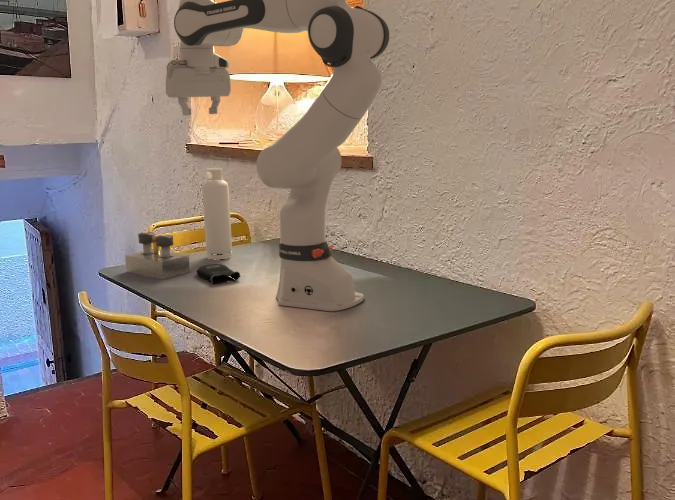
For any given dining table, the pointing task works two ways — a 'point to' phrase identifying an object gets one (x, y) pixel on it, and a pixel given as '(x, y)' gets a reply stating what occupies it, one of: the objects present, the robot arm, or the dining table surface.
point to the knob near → (165, 244)
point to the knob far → (146, 241)
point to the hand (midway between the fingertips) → (200, 114)
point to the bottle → (217, 215)
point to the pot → (155, 246)
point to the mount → (157, 264)
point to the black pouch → (216, 272)
